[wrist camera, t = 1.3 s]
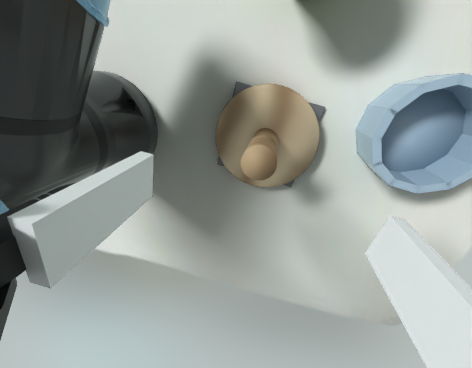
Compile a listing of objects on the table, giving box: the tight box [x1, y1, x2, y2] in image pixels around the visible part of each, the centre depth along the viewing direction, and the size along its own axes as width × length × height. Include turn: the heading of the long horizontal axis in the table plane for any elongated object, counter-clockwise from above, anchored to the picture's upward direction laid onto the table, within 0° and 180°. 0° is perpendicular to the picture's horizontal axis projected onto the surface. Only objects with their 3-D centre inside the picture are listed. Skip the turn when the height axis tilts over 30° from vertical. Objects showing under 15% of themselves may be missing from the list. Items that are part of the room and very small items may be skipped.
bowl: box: [356, 73, 472, 194], centre depth 24 cm, size 12×12×6 cm
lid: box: [216, 84, 319, 187], centre depth 25 cm, size 14×14×12 cm
